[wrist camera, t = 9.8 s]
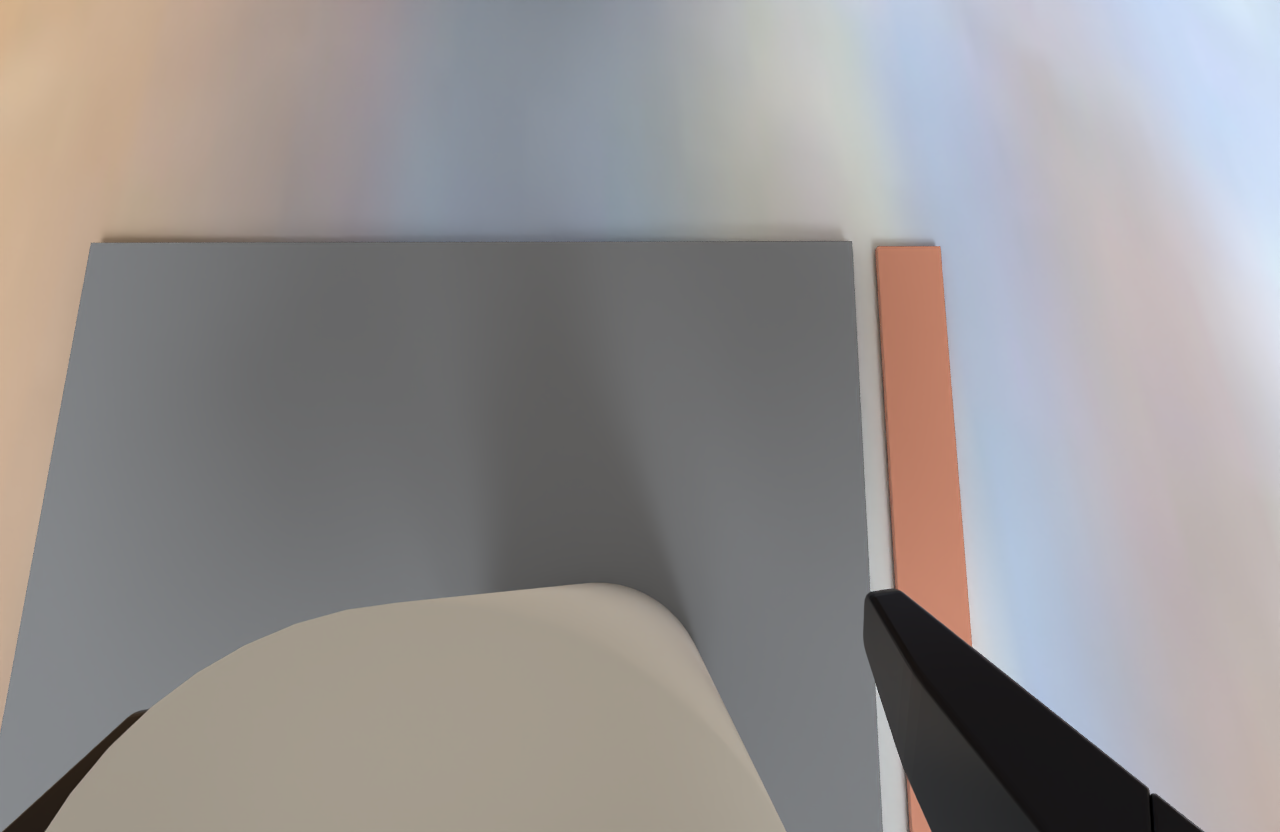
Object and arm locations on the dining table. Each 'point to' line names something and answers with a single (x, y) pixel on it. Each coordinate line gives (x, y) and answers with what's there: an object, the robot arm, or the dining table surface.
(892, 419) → the strip
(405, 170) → the dining table surface
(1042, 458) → the dining table surface
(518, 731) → the cream teardrop shape
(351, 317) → the mat
